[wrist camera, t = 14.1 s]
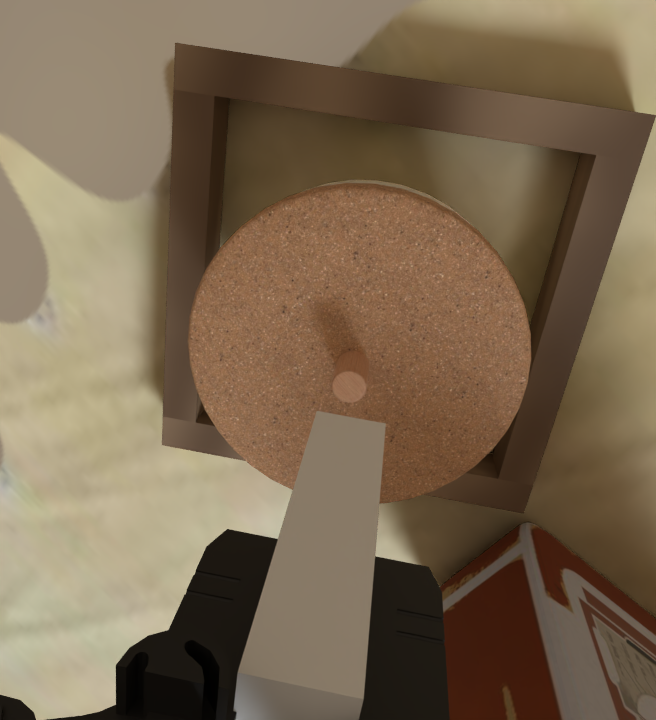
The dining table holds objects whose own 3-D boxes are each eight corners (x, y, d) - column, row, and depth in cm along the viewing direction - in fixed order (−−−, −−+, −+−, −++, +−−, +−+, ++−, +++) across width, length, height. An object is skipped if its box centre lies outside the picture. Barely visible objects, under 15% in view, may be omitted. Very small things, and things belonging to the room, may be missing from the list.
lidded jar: (390, 99, 23) (380, 99, 15) (549, 313, 26) (621, 421, 17) (195, 272, 27) (94, 354, 18) (350, 445, 29) (326, 589, 21)
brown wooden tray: (177, 423, 30) (161, 444, 28) (193, 46, 23) (175, 42, 21) (516, 487, 29) (523, 513, 27) (636, 113, 22) (656, 115, 20)
